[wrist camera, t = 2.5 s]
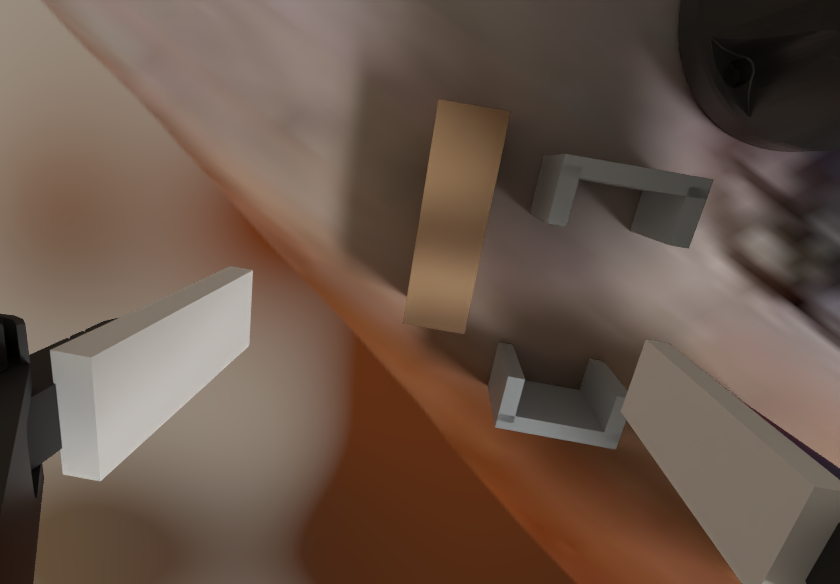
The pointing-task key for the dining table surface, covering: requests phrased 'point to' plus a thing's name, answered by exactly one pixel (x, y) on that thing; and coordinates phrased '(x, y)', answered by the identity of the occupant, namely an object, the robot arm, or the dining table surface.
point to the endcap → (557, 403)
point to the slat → (454, 214)
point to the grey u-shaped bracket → (661, 190)
